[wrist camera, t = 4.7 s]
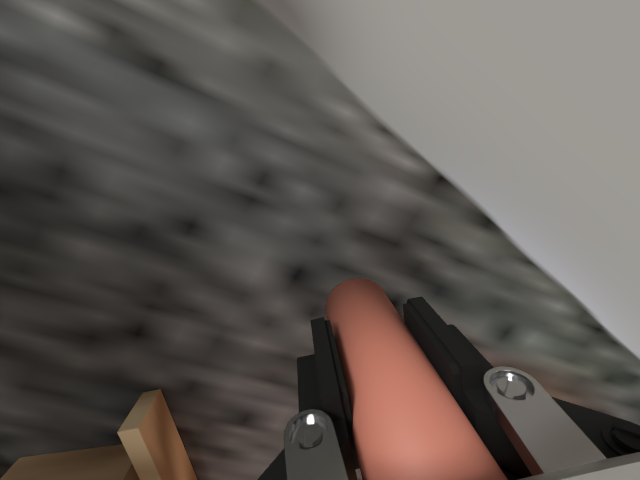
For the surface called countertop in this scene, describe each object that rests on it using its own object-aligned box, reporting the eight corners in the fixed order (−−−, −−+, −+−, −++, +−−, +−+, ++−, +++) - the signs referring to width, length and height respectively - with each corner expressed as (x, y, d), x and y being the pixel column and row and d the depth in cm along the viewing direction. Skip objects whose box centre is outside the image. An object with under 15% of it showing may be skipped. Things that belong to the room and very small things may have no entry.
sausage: (320, 285, 14) (385, 575, 5) (383, 272, 14) (576, 528, 5) (331, 340, 15) (405, 676, 5) (390, 327, 15) (563, 635, 6)
